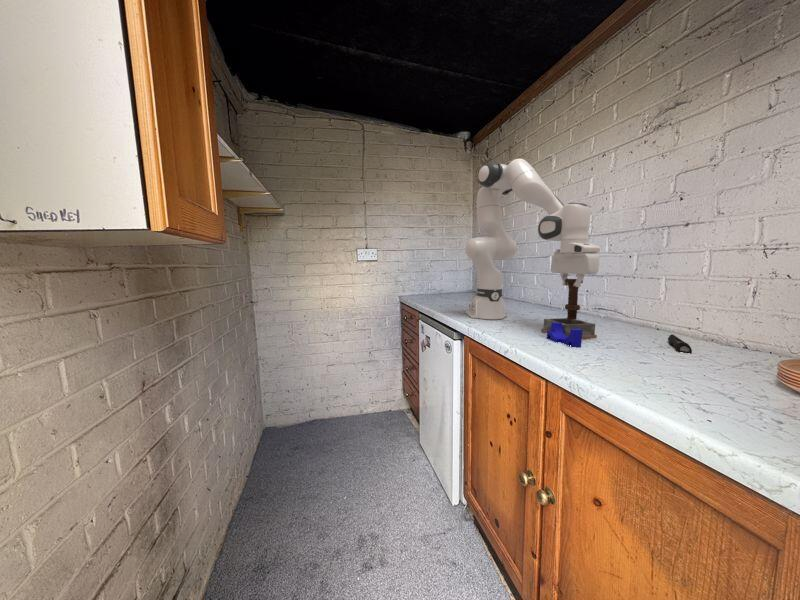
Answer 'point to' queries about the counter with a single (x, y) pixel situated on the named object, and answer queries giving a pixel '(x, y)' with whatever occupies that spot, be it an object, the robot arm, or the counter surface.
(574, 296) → the bolt
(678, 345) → the electric trimmer
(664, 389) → the counter surface
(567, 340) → the cable clip
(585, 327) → the bolt stand
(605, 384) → the counter surface
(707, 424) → the counter surface
